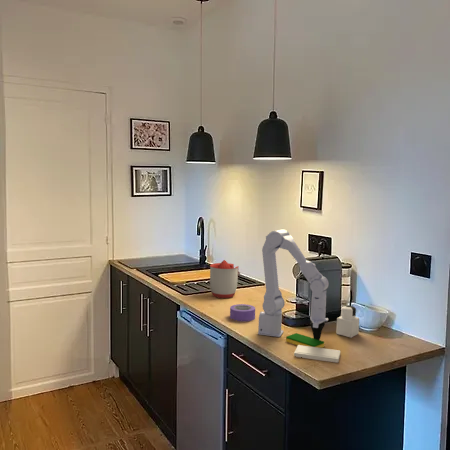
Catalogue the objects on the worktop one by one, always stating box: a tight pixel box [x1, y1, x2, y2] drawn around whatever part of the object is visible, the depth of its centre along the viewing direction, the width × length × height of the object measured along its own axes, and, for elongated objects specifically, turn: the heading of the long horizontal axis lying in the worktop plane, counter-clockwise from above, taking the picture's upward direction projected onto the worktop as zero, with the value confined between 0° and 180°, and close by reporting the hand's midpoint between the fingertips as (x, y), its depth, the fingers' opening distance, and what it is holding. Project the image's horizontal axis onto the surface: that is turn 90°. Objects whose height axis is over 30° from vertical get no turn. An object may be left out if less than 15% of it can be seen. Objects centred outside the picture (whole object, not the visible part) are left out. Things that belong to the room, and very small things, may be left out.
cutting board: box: [293, 345, 341, 364], centre depth 179 cm, size 16×9×2 cm, turn 72°
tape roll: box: [229, 303, 256, 322], centre depth 224 cm, size 12×12×5 cm
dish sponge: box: [285, 332, 325, 348], centre depth 191 cm, size 7×14×2 cm, turn 45°
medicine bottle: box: [335, 305, 360, 338], centre depth 204 cm, size 7×7×12 cm
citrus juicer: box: [209, 259, 241, 299], centre depth 262 cm, size 16×17×20 cm
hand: (316, 340), depth 193 cm, fingers closed
